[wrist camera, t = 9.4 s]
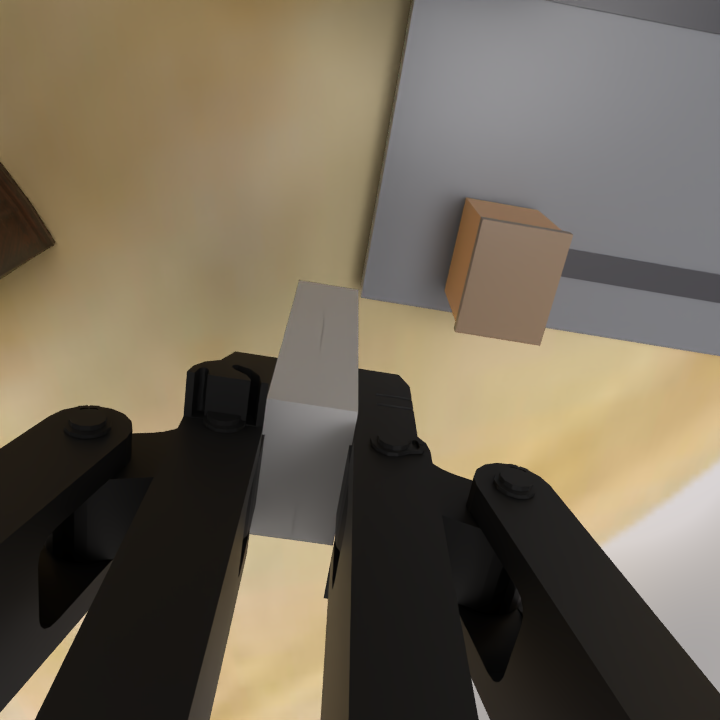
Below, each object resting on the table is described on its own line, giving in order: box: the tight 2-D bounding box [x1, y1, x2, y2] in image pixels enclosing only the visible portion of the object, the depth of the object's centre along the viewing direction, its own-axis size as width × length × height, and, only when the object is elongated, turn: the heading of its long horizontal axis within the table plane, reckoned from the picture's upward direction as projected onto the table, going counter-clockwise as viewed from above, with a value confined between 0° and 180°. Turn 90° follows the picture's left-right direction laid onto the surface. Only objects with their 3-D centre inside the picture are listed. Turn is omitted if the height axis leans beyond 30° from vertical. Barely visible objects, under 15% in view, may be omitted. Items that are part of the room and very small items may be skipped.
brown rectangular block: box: [445, 198, 573, 346], centre depth 26 cm, size 3×4×5 cm
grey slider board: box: [361, 0, 720, 356], centre depth 24 cm, size 20×26×6 cm
